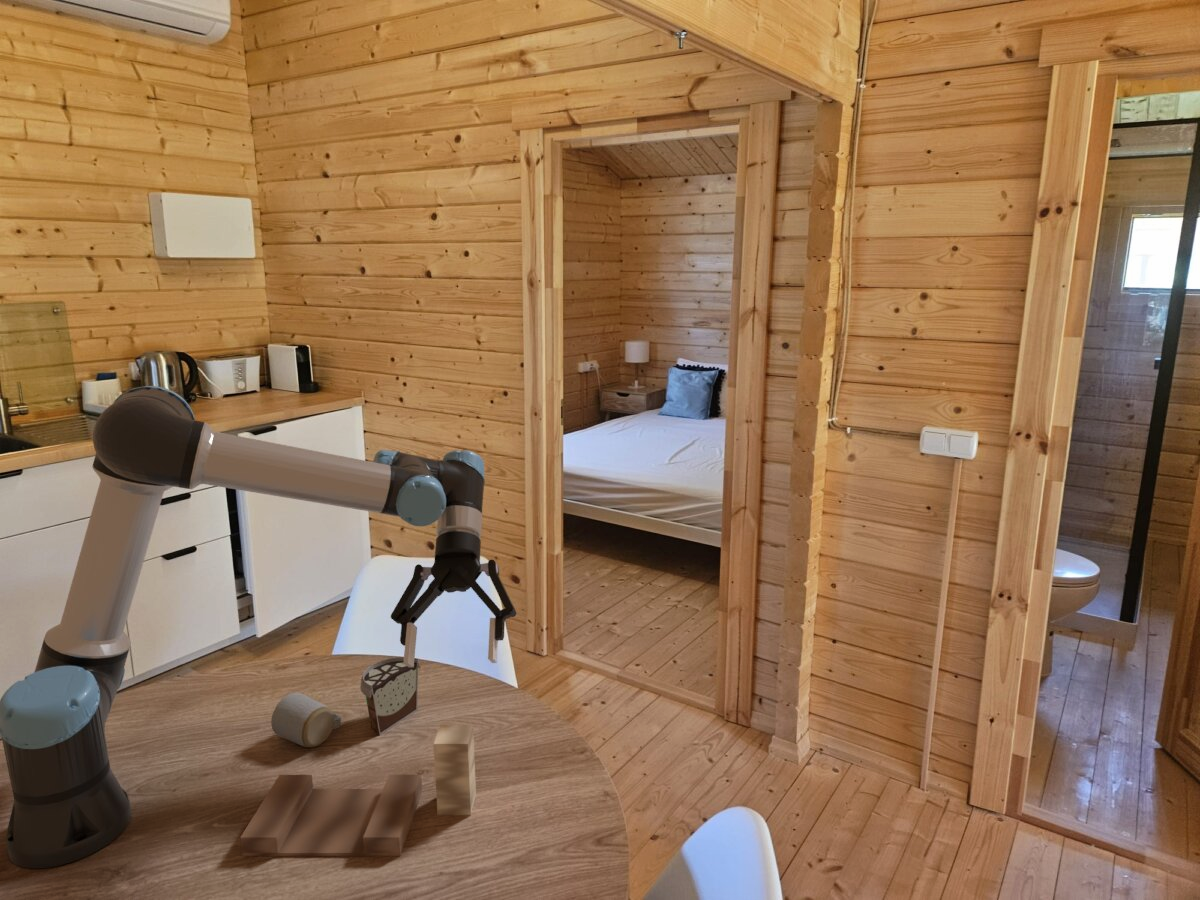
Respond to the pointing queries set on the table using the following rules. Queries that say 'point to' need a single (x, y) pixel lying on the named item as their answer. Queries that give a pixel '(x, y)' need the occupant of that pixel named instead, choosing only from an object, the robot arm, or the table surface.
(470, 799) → the tall wooden block
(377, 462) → the robot arm
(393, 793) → the cradle
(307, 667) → the table surface
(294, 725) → the ceramic mug
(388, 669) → the food container
